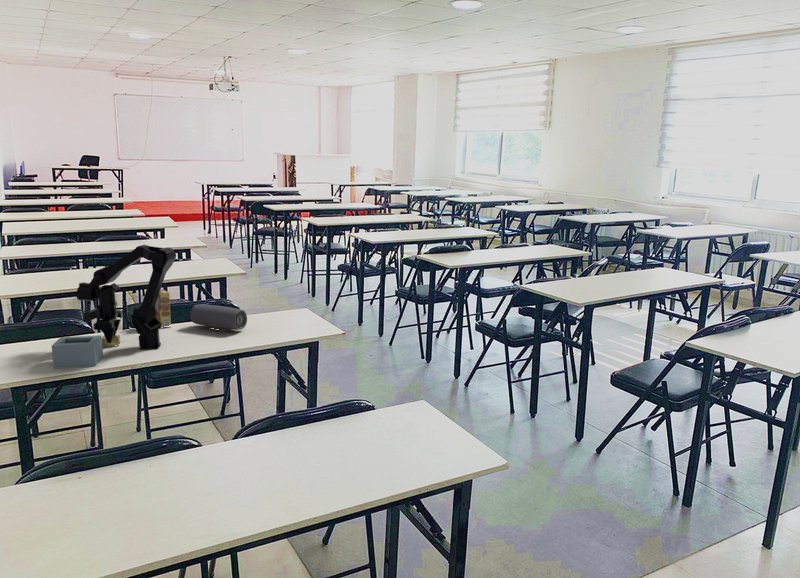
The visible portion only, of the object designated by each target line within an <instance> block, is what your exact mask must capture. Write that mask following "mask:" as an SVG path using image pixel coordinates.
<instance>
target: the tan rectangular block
mask: <svg viewBox="0 0 800 578" xmlns="http://www.w3.org/2000/svg"><path fill="white" fill-rule="evenodd" d="M101 339H102V346H113V347H116V346H115V345H119V344H120V343H121V336H120V334H118V335H117V334H116V335H113V338H112V341H111V343H107V340H106V338H105V336H104V335H103V336H102V335H101ZM120 345H121V344H120ZM120 345H119V346H120Z"/></svg>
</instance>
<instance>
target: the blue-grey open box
mask: <svg viewBox="0 0 800 578" xmlns="http://www.w3.org/2000/svg"><path fill="white" fill-rule="evenodd" d="M101 338H102V335H101V334H100V335H82V336H81V335H80V336H78V335H77V336H61V337H59V339H57V340H56V341H55V342H54V343H53V344H52V345H51V355H52V361H53V368H54V369H61V368H62V369H64V368H65V369H67V368H79V367H80V368H82V367H97V365H98V364H99V363H100V361H101V360H102V359H103V357H104V351H103V350H104V349H103V347H102V339H101Z"/></svg>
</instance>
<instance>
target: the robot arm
mask: <svg viewBox="0 0 800 578" xmlns="http://www.w3.org/2000/svg"><path fill="white" fill-rule="evenodd" d="M142 258H144V259H145V260H146V261H149V262H151V267H152V273H151V274H150V279H149V281H148V284H147V287H146V291H145V293H144V296H143V299H142V302H141V304H140V305H138V306H136V307H134V308H133V311H132V315H131V316H130V319H131V324H132V325H133V327H134V329H135V331H136V333H137V335H138V345H139V346H138V347H139V350H140V351H141V350H156V349H159V348H160V346H161V344H162V343H161V341H160V339H161V338H160V329H162V328H161V325H162V323H161V322H160V321H159V320H158V319H157V318H156V317H155V316H156V310H155V304H156V301H157V298H158V295H159V292H160V289H162V286H163V283H164V279H165V277H166V274H167V273H168V271H169V270H170V269H171V267H172V265H173V264H174V263H175V262H176V261H175V260H176V258H177V253H176V252H175V250H174V249H173V248H171V247H159V246H150V245H147V244H142V245H138V246H136V247H135V248H134V249H132V250H131V251H130V252H128V253H127V254H126V255H124V256H122V257H120V258H119V259H118V260H116V261H115V262H114V263H112V264H110V265H107V266H105V267H102V268H99V269H97V270H95V271H94V272H93V276H92V278H91V281H90V282H85V281H84V282H80V283H78V287H77V288H76V293H75V296H76V299H77V300H78V301H81V302H83V301H84V302H85V301H86V302H87V301H88V302H96V301H98V305H97V306H96V308H93V309H91V310H89V309H88V310H86V311H84V312H83V314H82V320H84V321H85V323H89V322H90V321H92V320H96V319H97V320H96V321H95V322H94V324H93V330H94V331H97V330H98V331H101V332H102V333H103V336H105V338H106V340H107V343H111V341H112V338H113V335H117V332H118V329H119V325H120V323H121V321H122V318H123V317H124V312H123V310H121V309H117V305H118V302H117V301H116V291H118V290H120V289H121V287H120V286H119V285H117V284H116V283H113V282H114V281H115V280H117V278H118V277H120V275H121V273H122V272H123V271H125V270H127V269H128V268H129V267H131V266H133V265H134V264H135V263H137V262H138V261H140V260H142ZM110 283H111V284H110ZM109 284H110V285H109ZM117 317H119V319H118V318H117Z"/></svg>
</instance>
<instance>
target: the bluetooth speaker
mask: <svg viewBox="0 0 800 578" xmlns="http://www.w3.org/2000/svg"><path fill="white" fill-rule="evenodd" d="M189 317H190V320H191V322H192V323H193V324H196V325H200V326H204V327H207V328H208V327H209V328H214V329H219V330H224V331H223V332H230V331H231V330H232V331H233V330H234V331H237V330H238V331H241V330H243V329H244V328H245V327H246V325H247V323H248V316H247V312H246V311H245V310H244V309H240V308H236V307H229V306H222V305H213V304H202V303H201V304H194V306H192V308H191V311H190V316H189ZM219 330H218V331H219ZM229 330H230V331H229Z"/></svg>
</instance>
